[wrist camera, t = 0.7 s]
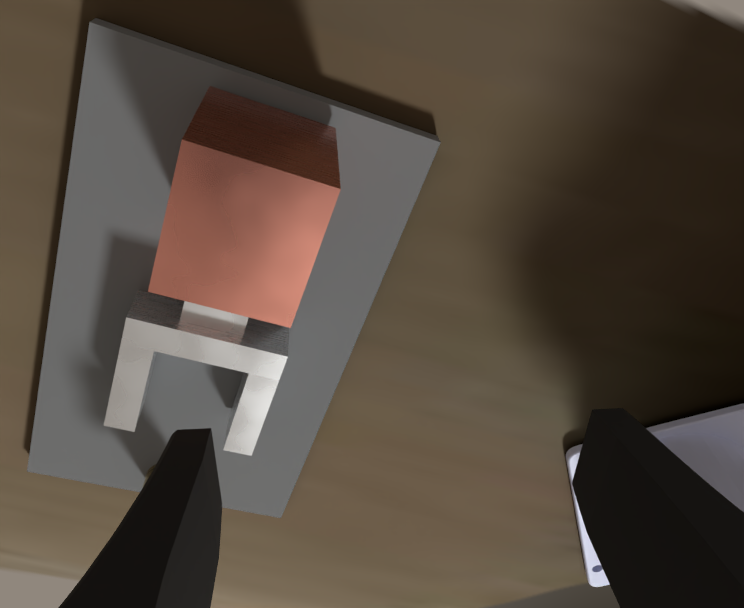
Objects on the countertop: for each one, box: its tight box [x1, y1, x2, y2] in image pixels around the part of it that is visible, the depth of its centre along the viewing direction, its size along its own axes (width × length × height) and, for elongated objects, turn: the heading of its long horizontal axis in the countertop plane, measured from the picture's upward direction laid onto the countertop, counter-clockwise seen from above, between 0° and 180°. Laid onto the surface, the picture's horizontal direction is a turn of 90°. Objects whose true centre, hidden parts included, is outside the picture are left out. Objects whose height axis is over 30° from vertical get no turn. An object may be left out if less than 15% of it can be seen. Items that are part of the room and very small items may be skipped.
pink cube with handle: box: [104, 86, 341, 456], centre depth 19 cm, size 12×5×4 cm, turn 160°
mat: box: [27, 18, 441, 518], centre depth 23 cm, size 17×10×1 cm, turn 160°
